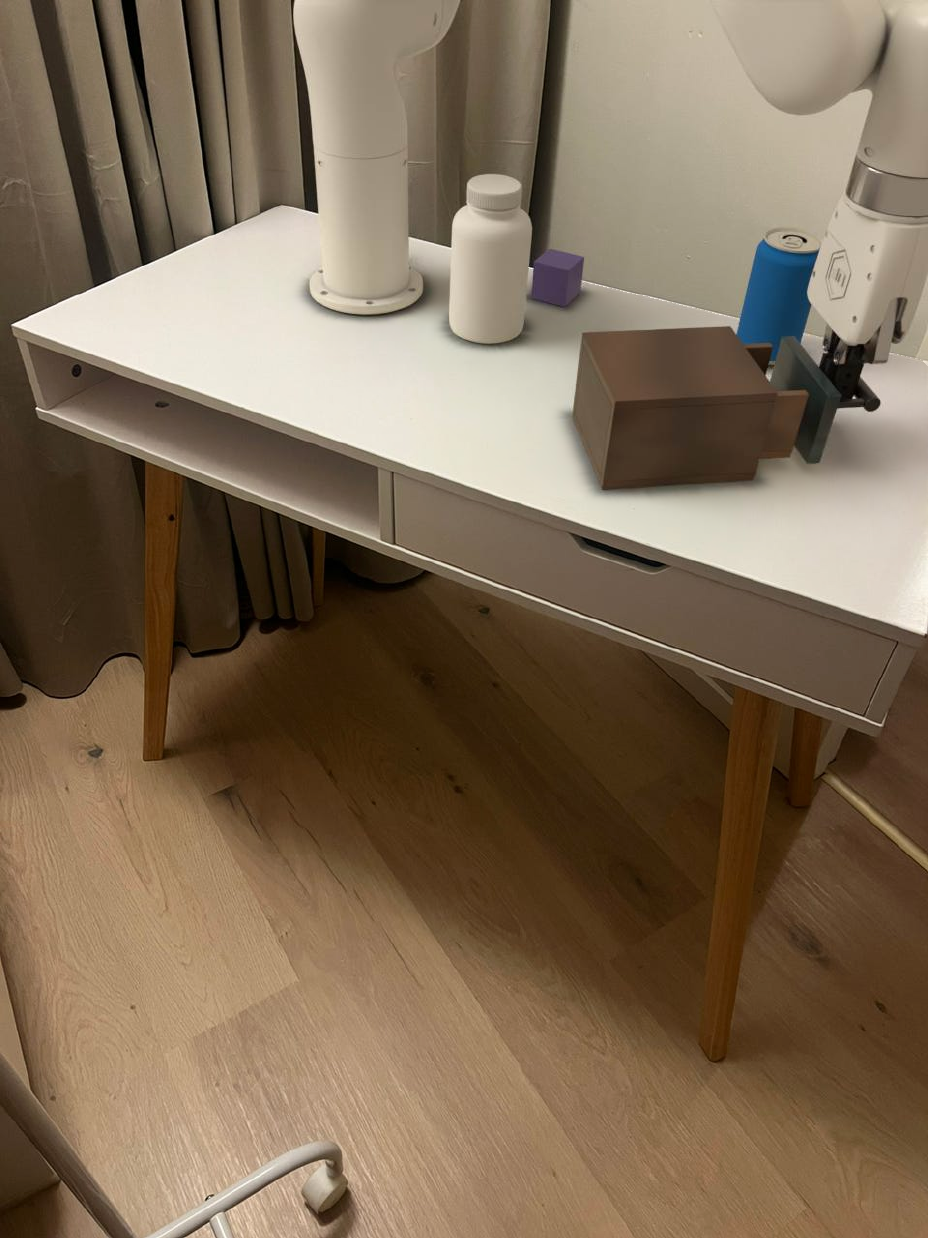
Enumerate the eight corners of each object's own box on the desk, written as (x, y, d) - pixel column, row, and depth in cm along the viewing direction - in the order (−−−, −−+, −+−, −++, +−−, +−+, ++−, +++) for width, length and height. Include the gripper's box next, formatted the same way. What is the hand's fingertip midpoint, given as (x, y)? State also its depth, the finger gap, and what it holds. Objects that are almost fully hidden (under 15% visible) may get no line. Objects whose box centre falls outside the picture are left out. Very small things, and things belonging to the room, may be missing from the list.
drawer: (828, 398, 95) (849, 332, 90) (876, 460, 87) (901, 392, 83) (648, 408, 93) (660, 341, 88) (682, 472, 85) (697, 402, 81)
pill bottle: (517, 350, 102) (528, 202, 92) (441, 340, 103) (443, 192, 93) (529, 315, 108) (541, 172, 97) (457, 306, 109) (461, 164, 98)
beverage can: (801, 346, 104) (834, 233, 96) (789, 374, 100) (822, 258, 92) (741, 333, 106) (767, 220, 98) (726, 359, 102) (753, 244, 94)
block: (530, 298, 111) (533, 261, 108) (546, 284, 114) (550, 248, 111) (564, 307, 109) (568, 270, 107) (580, 292, 112) (584, 256, 109)
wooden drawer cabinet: (711, 409, 95) (730, 325, 89) (753, 480, 86) (778, 392, 80) (571, 417, 93) (581, 331, 87) (601, 489, 85) (615, 401, 79)
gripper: (814, 153, 81) (761, 357, 93) (897, 226, 70) (824, 446, 83) (900, 151, 82) (836, 354, 94) (995, 223, 71) (908, 441, 84)
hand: (831, 396), depth 88 cm, fingers closed
